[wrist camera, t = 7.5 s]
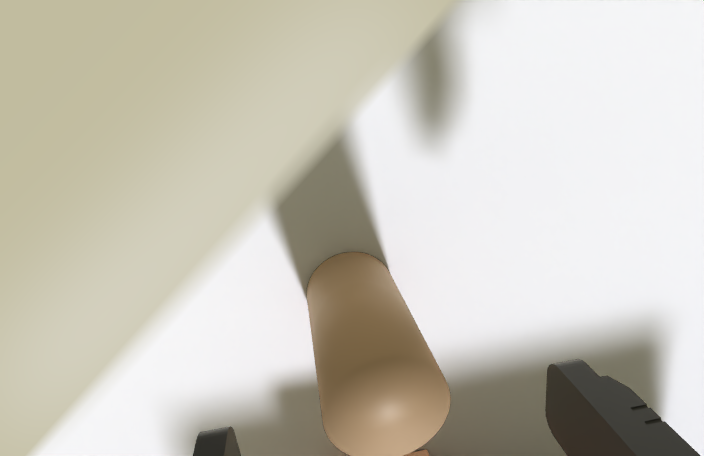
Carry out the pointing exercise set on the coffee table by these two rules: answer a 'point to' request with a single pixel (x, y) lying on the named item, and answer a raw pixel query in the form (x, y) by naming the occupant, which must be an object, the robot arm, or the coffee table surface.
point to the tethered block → (372, 361)
